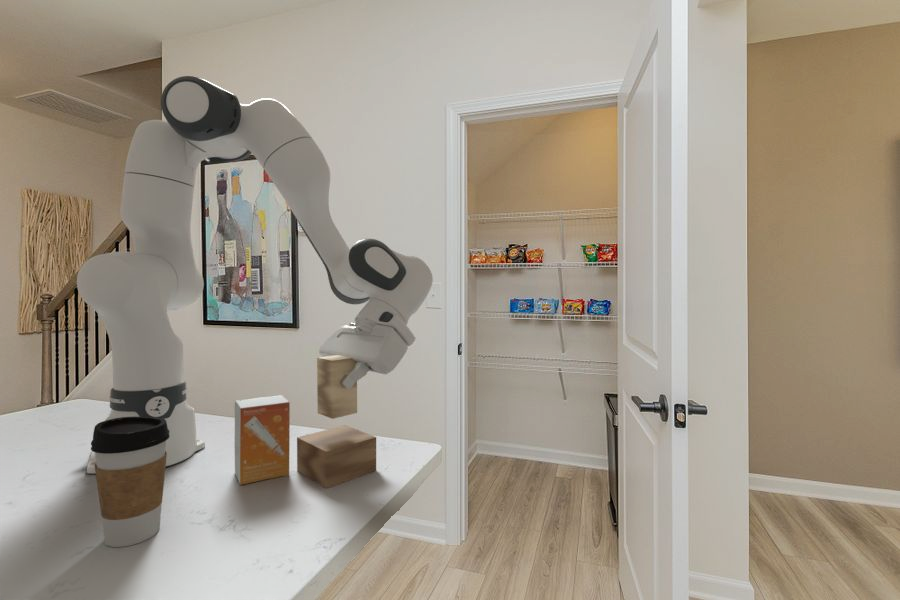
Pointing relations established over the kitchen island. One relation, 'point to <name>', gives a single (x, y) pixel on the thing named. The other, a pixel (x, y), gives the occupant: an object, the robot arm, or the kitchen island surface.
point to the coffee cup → (130, 477)
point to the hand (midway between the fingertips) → (334, 383)
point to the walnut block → (336, 455)
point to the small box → (262, 438)
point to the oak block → (335, 387)
